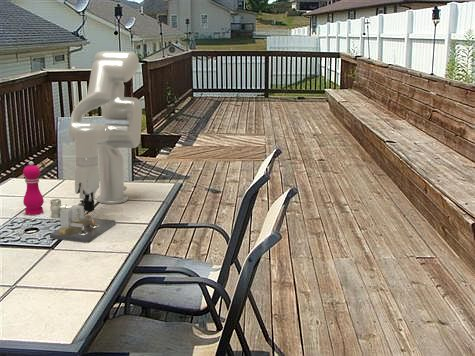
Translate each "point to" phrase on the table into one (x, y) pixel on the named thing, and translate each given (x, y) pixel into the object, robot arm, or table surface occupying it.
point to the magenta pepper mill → (32, 190)
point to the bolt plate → (80, 228)
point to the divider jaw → (79, 214)
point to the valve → (59, 207)
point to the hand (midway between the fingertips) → (89, 210)
